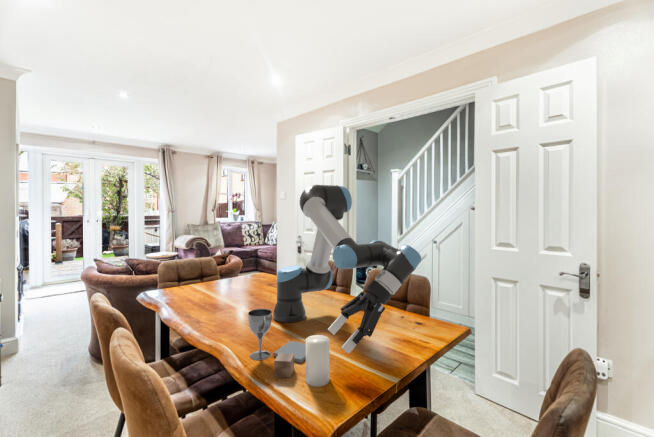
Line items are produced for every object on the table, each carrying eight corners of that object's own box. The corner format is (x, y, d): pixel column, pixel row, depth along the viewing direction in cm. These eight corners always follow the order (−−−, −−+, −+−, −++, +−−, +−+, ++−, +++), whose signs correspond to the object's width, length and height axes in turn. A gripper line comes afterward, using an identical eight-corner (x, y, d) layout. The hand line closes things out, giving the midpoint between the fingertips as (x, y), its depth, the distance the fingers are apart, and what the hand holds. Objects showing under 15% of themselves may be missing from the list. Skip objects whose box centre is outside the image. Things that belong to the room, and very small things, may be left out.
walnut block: (274, 377, 93) (274, 360, 93) (278, 368, 98) (278, 353, 98) (290, 378, 92) (290, 361, 92) (294, 369, 97) (294, 353, 97)
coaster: (273, 356, 106) (273, 352, 106) (290, 343, 116) (290, 340, 116) (301, 363, 101) (301, 359, 101) (316, 349, 111) (316, 346, 111)
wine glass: (250, 350, 110) (250, 308, 110) (272, 349, 111) (272, 308, 110) (246, 361, 102) (246, 316, 102) (270, 360, 103) (270, 315, 103)
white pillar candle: (301, 382, 90) (301, 342, 89) (312, 371, 96) (312, 333, 96) (322, 389, 86) (322, 346, 86) (333, 377, 93) (333, 337, 92)
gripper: (359, 271, 107) (318, 318, 104) (395, 289, 84) (342, 351, 80) (373, 286, 109) (333, 332, 105) (412, 306, 85) (361, 368, 81)
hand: (337, 340), depth 92 cm, fingers open, 13 cm apart
